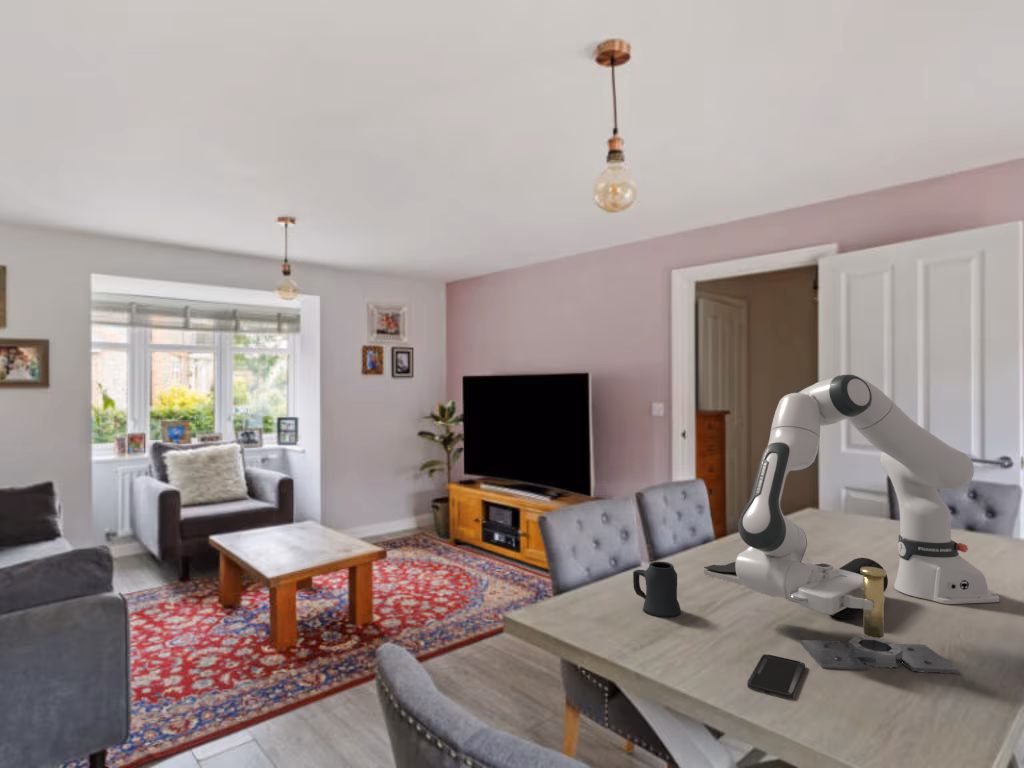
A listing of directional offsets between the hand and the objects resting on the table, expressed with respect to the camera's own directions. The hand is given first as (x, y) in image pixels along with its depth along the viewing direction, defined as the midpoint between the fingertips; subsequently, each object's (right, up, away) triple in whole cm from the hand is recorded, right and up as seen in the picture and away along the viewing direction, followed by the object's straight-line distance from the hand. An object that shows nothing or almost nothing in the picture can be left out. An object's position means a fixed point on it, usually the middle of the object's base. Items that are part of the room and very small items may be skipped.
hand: (878, 602), depth 119 cm
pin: (-1, -7, +1) cm, 7 cm away
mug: (-37, -12, +28) cm, 48 cm away
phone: (-23, -12, -7) cm, 27 cm away
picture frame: (-4, -13, +52) cm, 53 cm away
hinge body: (0, -11, +1) cm, 11 cm away
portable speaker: (+12, -12, +29) cm, 33 cm away
